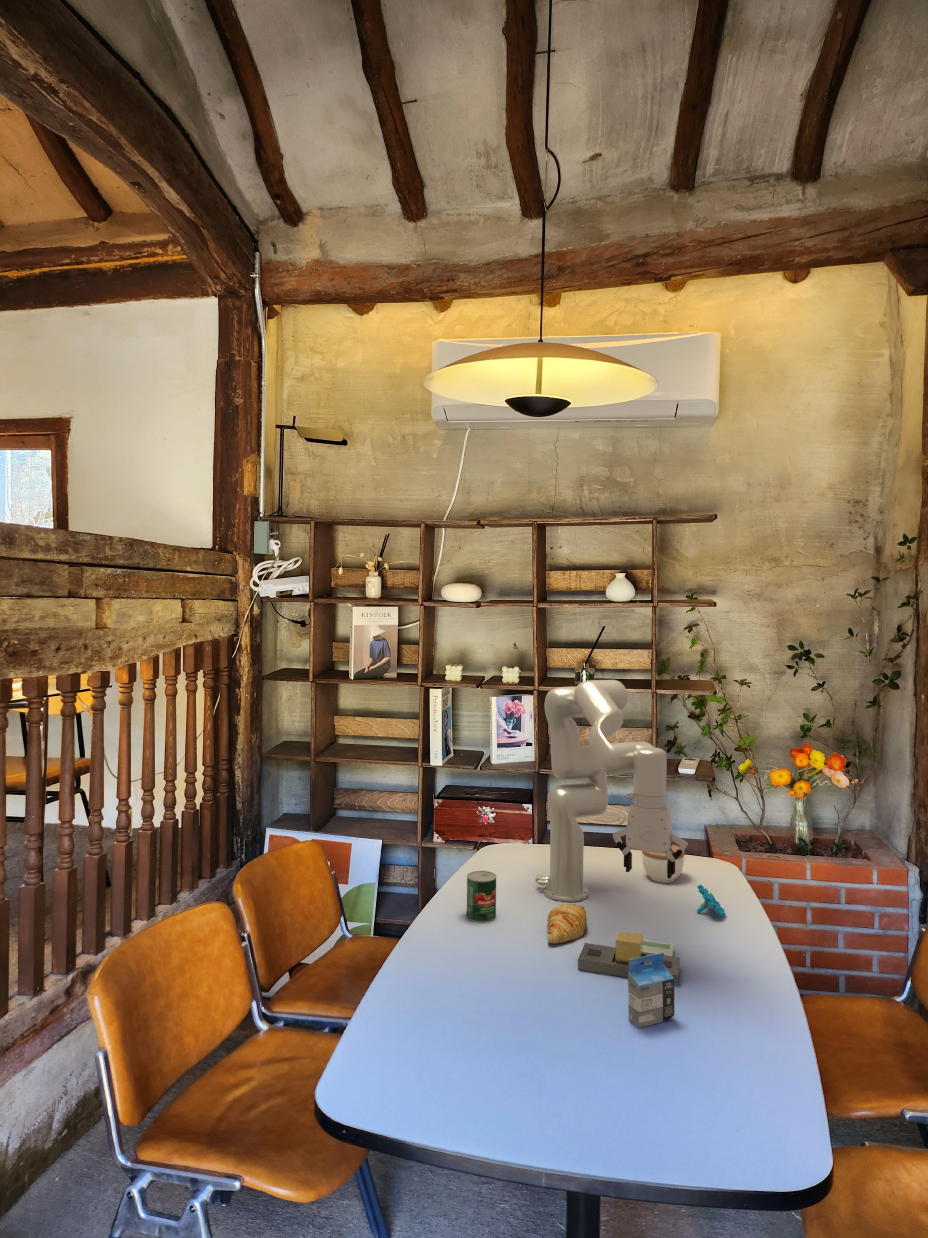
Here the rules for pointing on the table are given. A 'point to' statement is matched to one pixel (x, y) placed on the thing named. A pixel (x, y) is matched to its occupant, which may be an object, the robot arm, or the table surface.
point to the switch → (604, 963)
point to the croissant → (566, 923)
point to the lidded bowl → (661, 865)
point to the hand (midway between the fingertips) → (649, 873)
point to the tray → (658, 947)
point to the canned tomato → (481, 896)
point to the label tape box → (650, 991)
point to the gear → (709, 902)
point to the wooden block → (628, 947)
